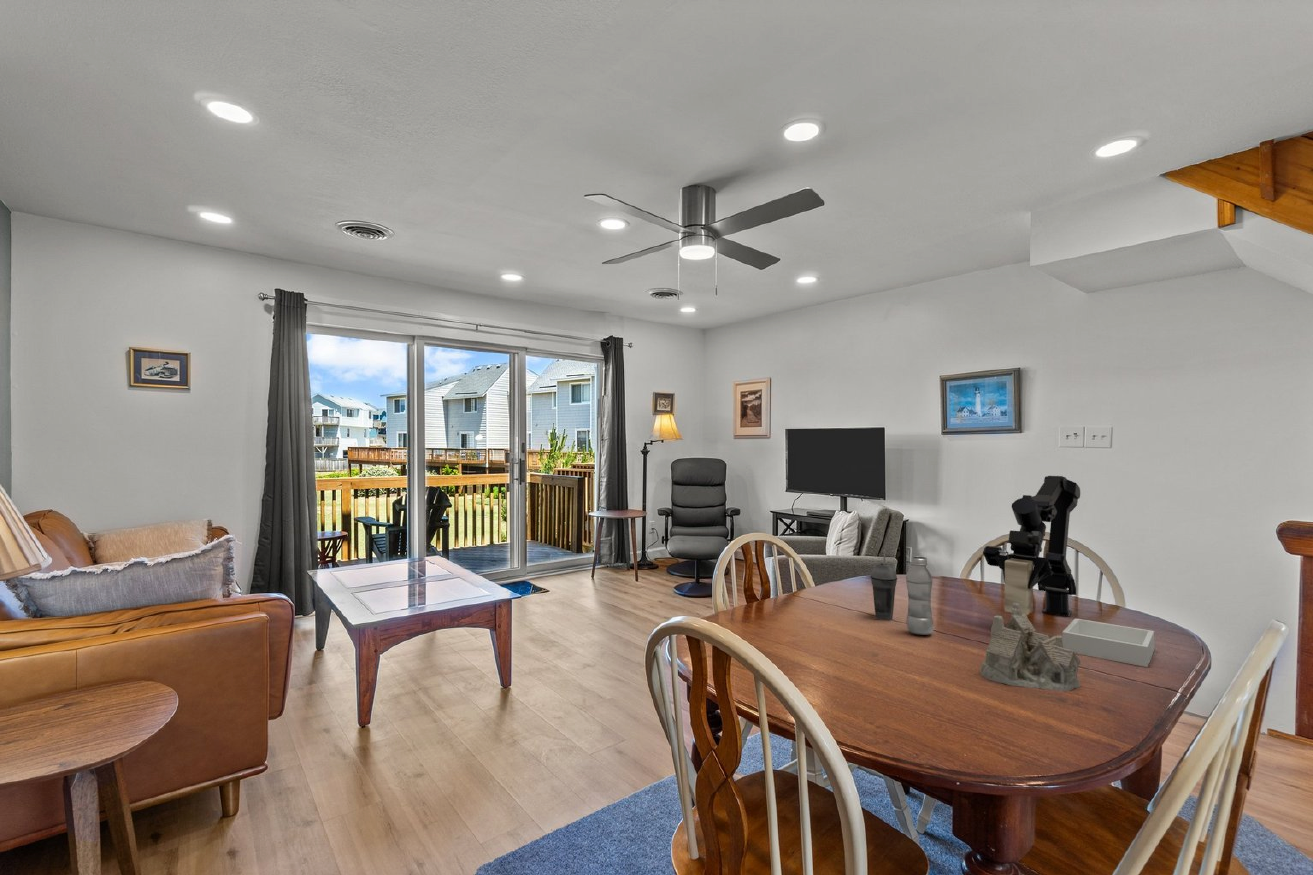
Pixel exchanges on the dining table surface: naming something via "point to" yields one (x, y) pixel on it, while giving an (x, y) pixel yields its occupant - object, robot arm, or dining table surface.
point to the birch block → (1018, 585)
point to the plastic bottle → (919, 597)
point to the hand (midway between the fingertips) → (1017, 586)
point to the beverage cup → (883, 590)
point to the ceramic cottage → (1028, 656)
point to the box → (1109, 641)
